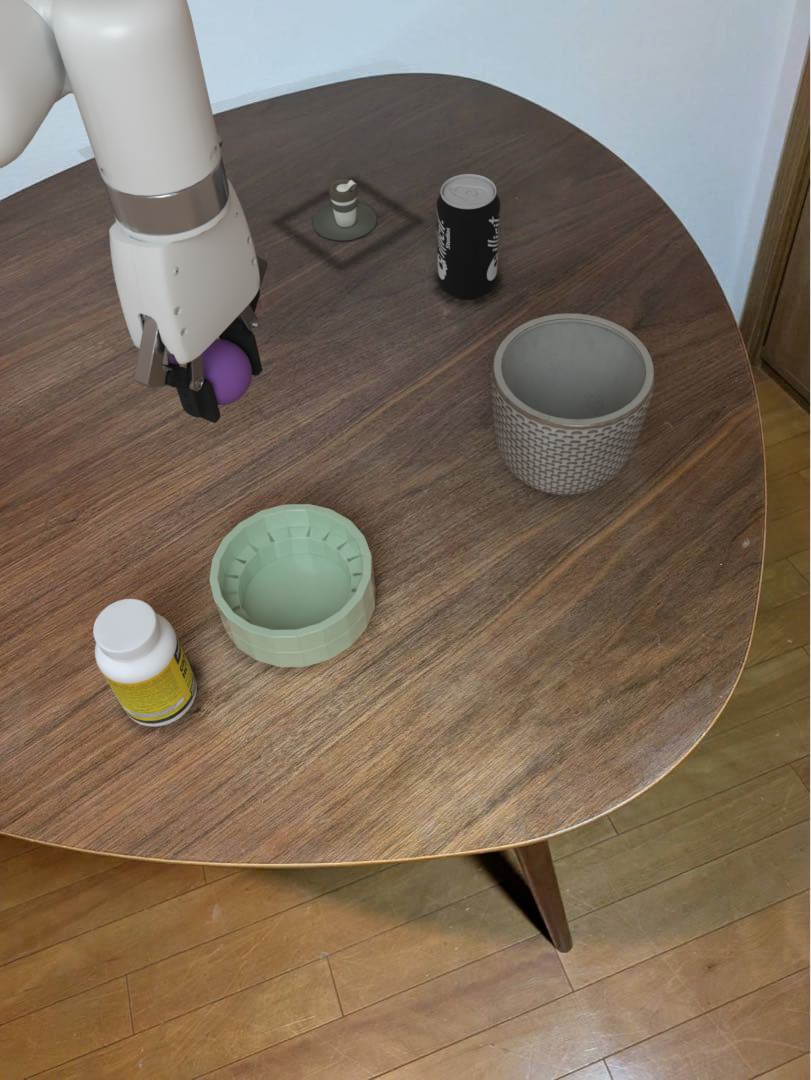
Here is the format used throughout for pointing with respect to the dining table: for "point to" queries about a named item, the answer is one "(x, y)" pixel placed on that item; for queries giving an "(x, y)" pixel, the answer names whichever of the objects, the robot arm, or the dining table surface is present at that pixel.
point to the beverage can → (468, 236)
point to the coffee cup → (344, 214)
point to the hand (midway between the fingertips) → (223, 389)
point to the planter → (569, 401)
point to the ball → (227, 370)
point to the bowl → (294, 584)
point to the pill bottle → (143, 663)
